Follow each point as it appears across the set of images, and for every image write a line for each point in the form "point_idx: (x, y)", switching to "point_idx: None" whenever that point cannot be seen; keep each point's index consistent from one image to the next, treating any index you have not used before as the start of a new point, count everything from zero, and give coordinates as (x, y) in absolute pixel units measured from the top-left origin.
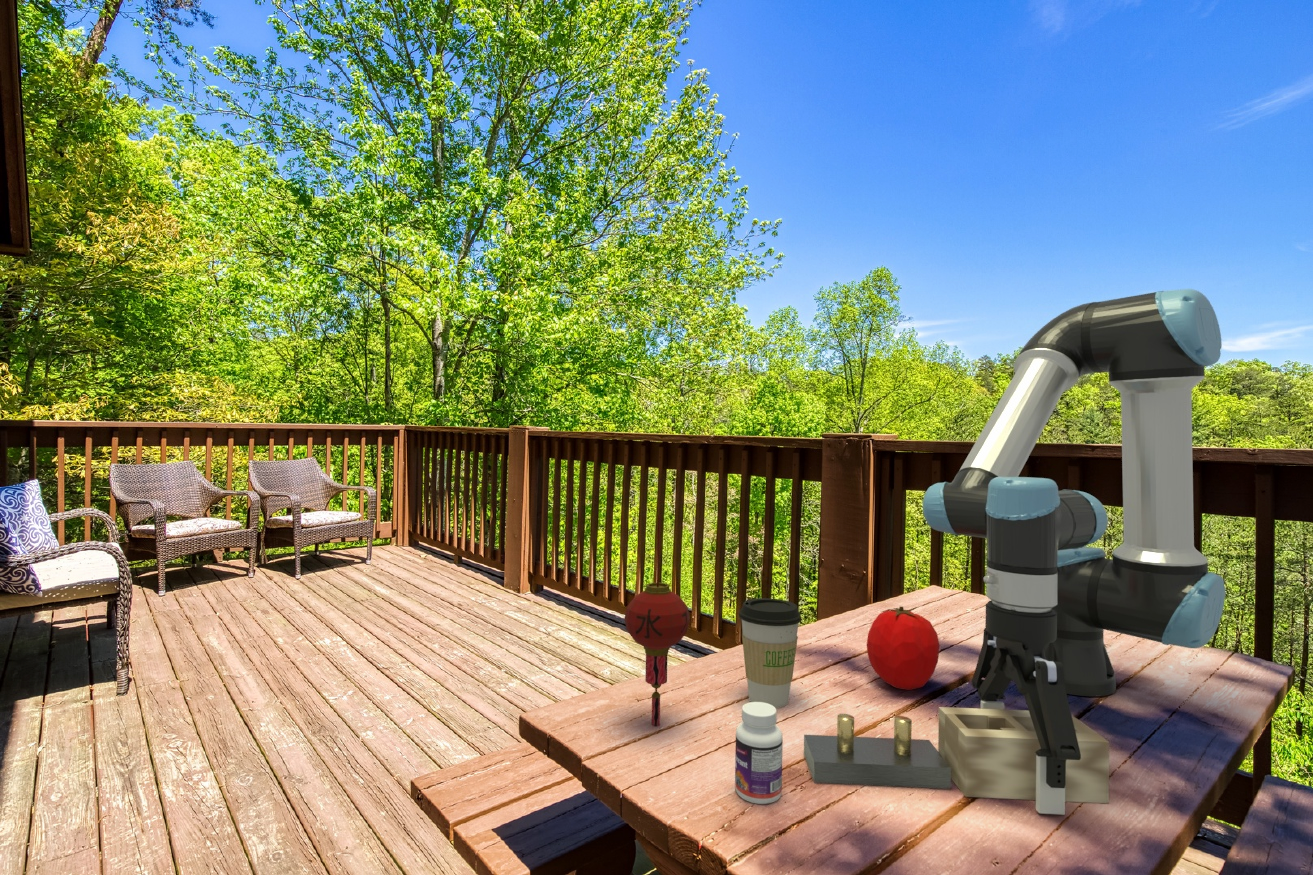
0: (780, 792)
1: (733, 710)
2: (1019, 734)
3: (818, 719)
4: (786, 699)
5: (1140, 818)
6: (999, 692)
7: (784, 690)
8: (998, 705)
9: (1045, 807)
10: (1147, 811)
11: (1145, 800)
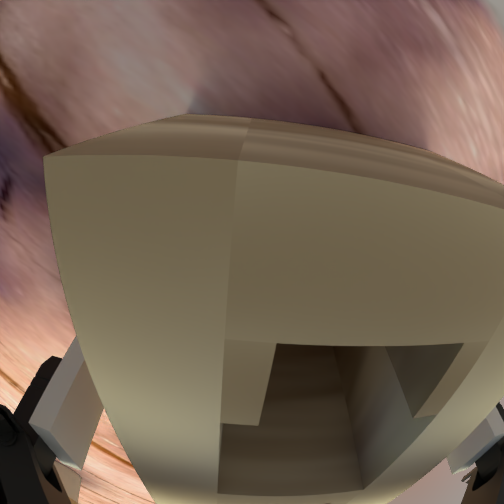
0: None
1: (104, 493)
2: (373, 500)
3: (87, 463)
4: (61, 471)
5: (489, 126)
6: (49, 489)
7: (64, 486)
8: (62, 436)
9: None
10: (467, 70)
11: (416, 14)
